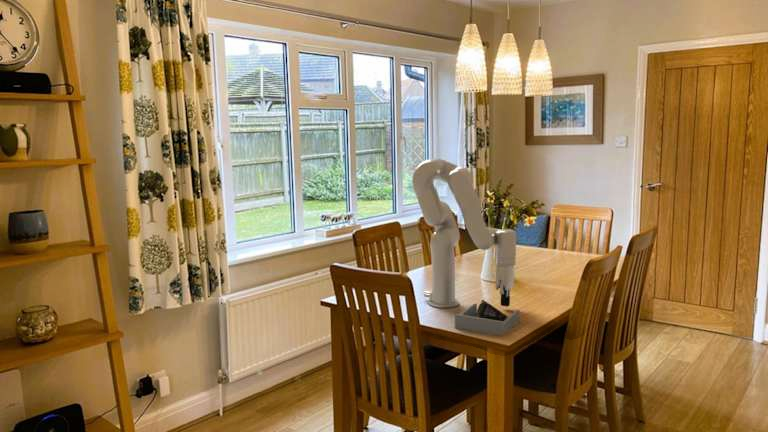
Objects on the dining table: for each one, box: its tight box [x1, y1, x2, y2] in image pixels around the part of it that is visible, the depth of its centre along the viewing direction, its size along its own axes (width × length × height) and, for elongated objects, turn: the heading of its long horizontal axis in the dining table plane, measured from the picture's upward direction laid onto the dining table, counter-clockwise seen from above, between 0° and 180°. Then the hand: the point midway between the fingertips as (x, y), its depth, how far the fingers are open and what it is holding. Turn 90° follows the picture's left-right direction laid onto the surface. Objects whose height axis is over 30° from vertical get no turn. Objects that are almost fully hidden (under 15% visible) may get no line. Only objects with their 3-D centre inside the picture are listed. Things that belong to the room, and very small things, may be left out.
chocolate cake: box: [476, 299, 509, 321], centre depth 220 cm, size 10×7×12 cm
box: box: [454, 303, 520, 337], centre depth 213 cm, size 18×19×5 cm
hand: (505, 305), depth 230 cm, fingers closed
